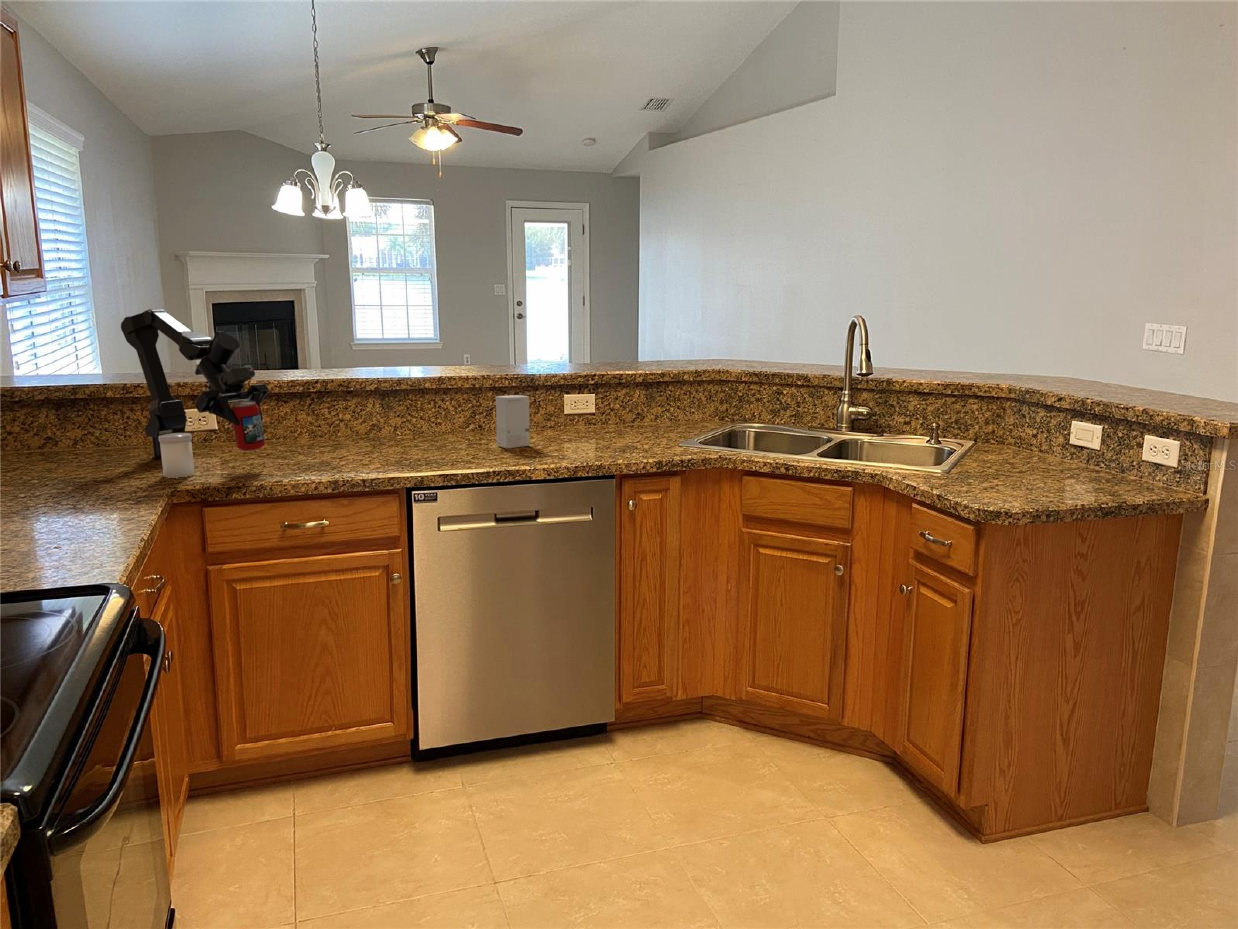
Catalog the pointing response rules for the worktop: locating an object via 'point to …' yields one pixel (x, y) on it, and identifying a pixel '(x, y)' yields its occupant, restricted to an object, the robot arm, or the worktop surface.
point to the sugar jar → (176, 455)
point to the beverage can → (248, 426)
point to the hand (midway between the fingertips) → (250, 422)
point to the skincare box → (512, 421)
